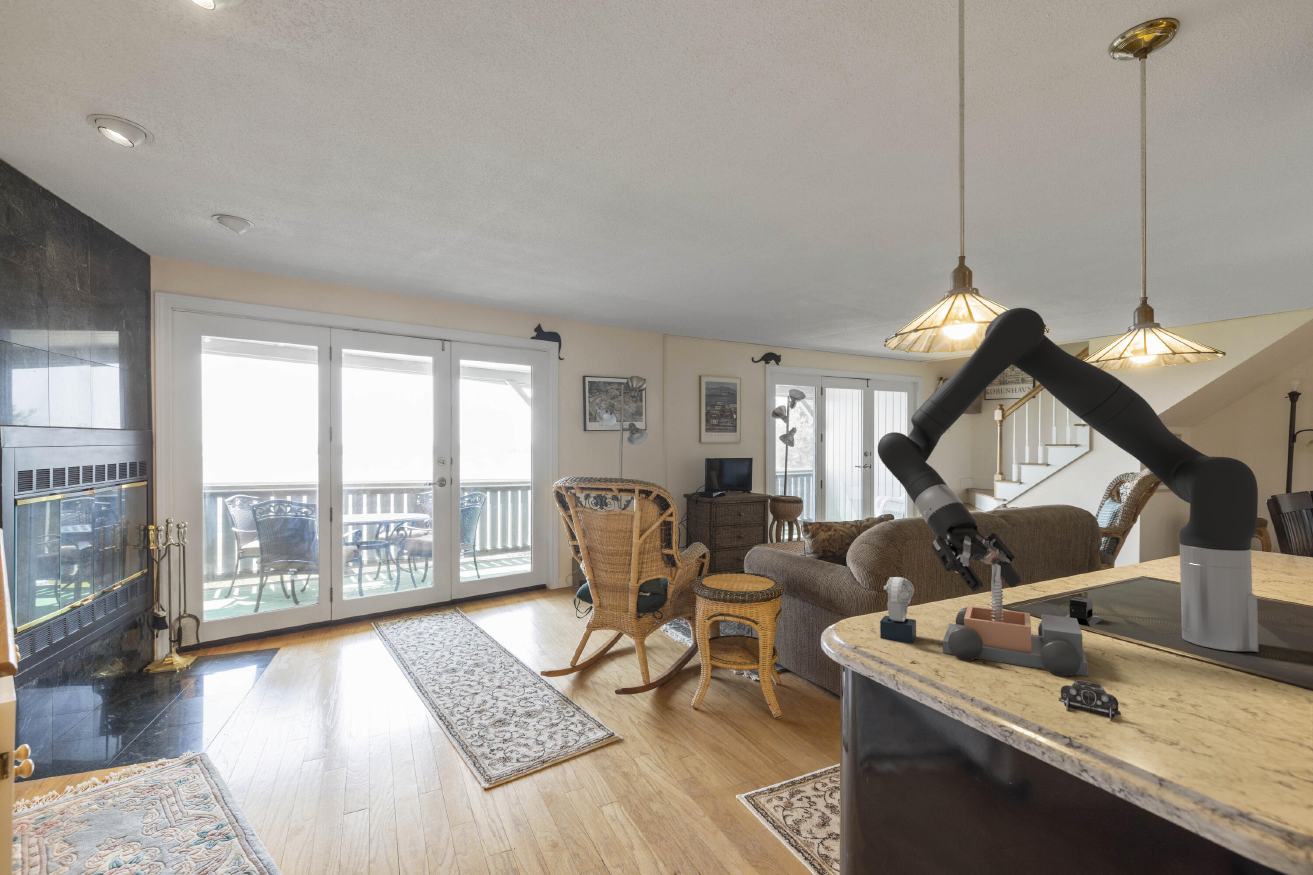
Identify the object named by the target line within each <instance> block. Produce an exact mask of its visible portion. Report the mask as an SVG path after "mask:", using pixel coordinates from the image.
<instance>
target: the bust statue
mask: <svg viewBox="0 0 1313 875" xmlns="http://www.w3.org/2000/svg"><path fill="white" fill-rule="evenodd" d="M883 590H886V592H887V594H888V595H887V599H888V600H887V602H886V603H887V615H884V616H883V617H882V618H881V619H880V621H879V633H880V634H879V636H880V639H883V640H889V641H890V640H891V641H896V642H901V643H909V644H913V643H914V641H915V640H916V638H917V620H916V619H912V618H907V614H908V605H910V604H911V601H912V598H913V596H914V593H915V587H914V585H913V583H912V582H911V581H910V580H909V579H906V578H905V577H900V576H893V577H891V576H890V577H889V578H888V580H887V582H886V585H884V586H883Z"/></svg>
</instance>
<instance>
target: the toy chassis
mask: <svg viewBox="0 0 1313 875" xmlns="http://www.w3.org/2000/svg"><path fill="white" fill-rule="evenodd" d="M1002 611H1003V613H1002V614H1003V616H1002V618H1003V620H1002V621H1003V622H1004V623H1003V622H996V621H992V620H991V619H992V616H991V615H992V613H991V612H992V607H983V606H982V607H981V606H974V605H967V606H966V607H964V608H961V609H960V610H959V611H958V612H957V614H956V617H955V623H952V622H951V623H950V622H949V624H948V627H947V630H946V632H945V634H944V637H943V640H942V653H943V654H946V655H947V654H948V655H954V656H955V657H957V658H958V659H960V660H962V661H974V660H976V659H980V660H984V661H991V662H998V663H1005V664H1010V665H1016V666H1017V665H1018V666H1022V667H1023V666H1024V667H1027V668H1028V667H1029V668H1036V669H1041V670H1047V671H1049V673H1052V674H1053V675H1056V676H1060V677H1070V676H1073V675H1079V676H1085V677H1088V676H1089V670H1088V669H1089V668H1088V661H1087V656H1086V654H1085V651H1084V648H1083V645H1084V643H1083V642H1084V641H1083V632H1082V629H1081V626H1080V625H1079V623H1078V621H1077V618H1069V617H1065V616H1061V615H1059V616H1058V615H1050V614H1043V613H1042V614H1040V615H1041V621H1040V622H1039V623H1038V626H1037V632H1038V633H1037V634H1033V633H1032V625H1031V624H1032V621H1031V612H1024V611H1023V612H1022V611H1016V610H1006V609H1002Z"/></svg>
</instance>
